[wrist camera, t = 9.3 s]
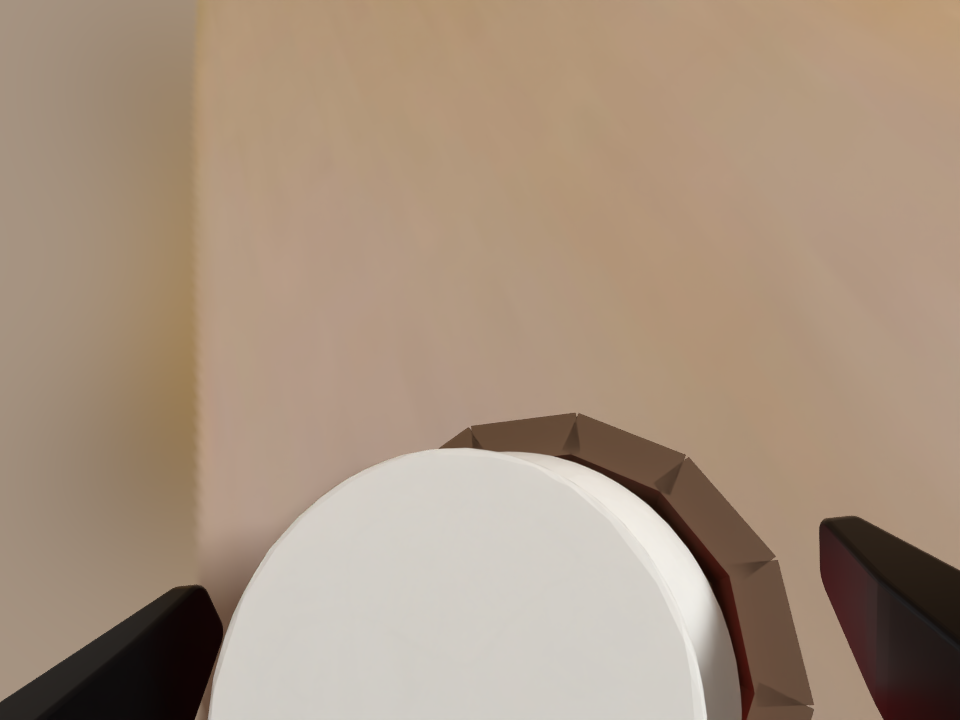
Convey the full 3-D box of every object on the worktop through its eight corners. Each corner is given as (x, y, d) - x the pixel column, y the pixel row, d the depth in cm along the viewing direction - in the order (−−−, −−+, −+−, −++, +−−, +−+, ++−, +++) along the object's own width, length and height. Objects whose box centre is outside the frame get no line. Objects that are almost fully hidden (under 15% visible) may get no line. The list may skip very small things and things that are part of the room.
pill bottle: (458, 809, 14) (89, 1226, 4) (427, 547, 17) (153, 445, 7) (720, 772, 14) (980, 1183, 4) (646, 503, 16) (680, 319, 6)
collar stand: (695, 1018, 13) (721, 1173, 9) (303, 733, 17) (214, 764, 13) (838, 536, 16) (900, 513, 12) (474, 390, 20) (440, 339, 16)
